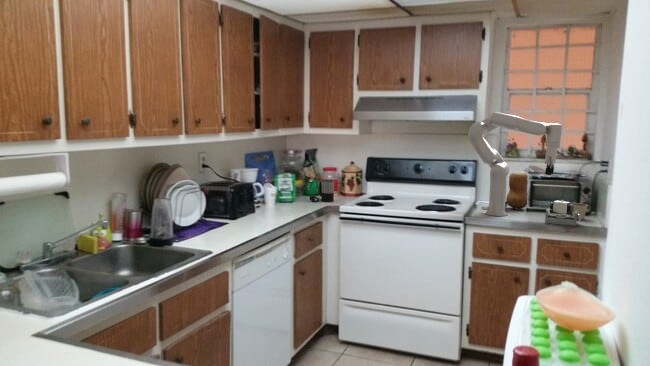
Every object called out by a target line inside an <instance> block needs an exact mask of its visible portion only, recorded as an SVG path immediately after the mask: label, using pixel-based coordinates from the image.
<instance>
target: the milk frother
mask: <svg viewBox="0 0 650 366" xmlns="http://www.w3.org/2000/svg"><path fill="white" fill-rule="evenodd" d="M318 186H319V187H318V189H319V190H318V191H319V192H318V193H319V196H320V198H319V197H318V196H315V195H311V196H309V200H310V201H312V202H315V203H317V202H319V201H321V202H322V203H324V202H325V203H332V202H335V200H334V199H335V198H334V194H335V193H334V192H335V179H321V181H320V182H319V185H318Z"/></svg>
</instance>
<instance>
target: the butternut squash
mask: <svg viewBox="0 0 650 366" xmlns="http://www.w3.org/2000/svg"><path fill="white" fill-rule="evenodd" d="M508 179H509V180H508V186H509V187H508V188H509V190H508V193H507V194H506V200H505V202H506V203H507V205H508V207H510V208H511V209H514V210H522V209H524V208H526V206H527V205H528V203H527V195H528V196H529V194H528V183H529V181H528V173H526V172H525V171H523V170H521V171H513V172H511V173H510V174H509V178H508Z"/></svg>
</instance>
